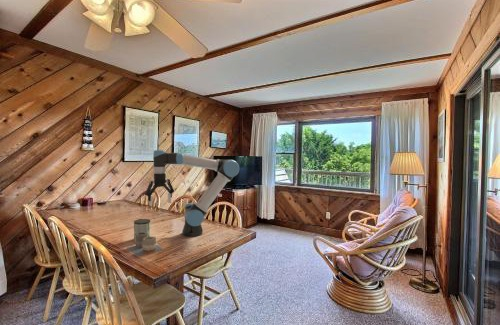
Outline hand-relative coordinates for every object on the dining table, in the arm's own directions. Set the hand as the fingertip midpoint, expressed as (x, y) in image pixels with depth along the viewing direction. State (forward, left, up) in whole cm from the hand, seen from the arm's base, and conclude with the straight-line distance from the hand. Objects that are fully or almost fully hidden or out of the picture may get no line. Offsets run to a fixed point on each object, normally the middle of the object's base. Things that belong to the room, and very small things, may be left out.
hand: (160, 204), depth 174 cm
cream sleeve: (+14, +15, -25) cm, 32 cm away
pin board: (+14, +9, -26) cm, 31 cm away
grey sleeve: (+14, +3, -25) cm, 28 cm away
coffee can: (+9, -9, -26) cm, 29 cm away
